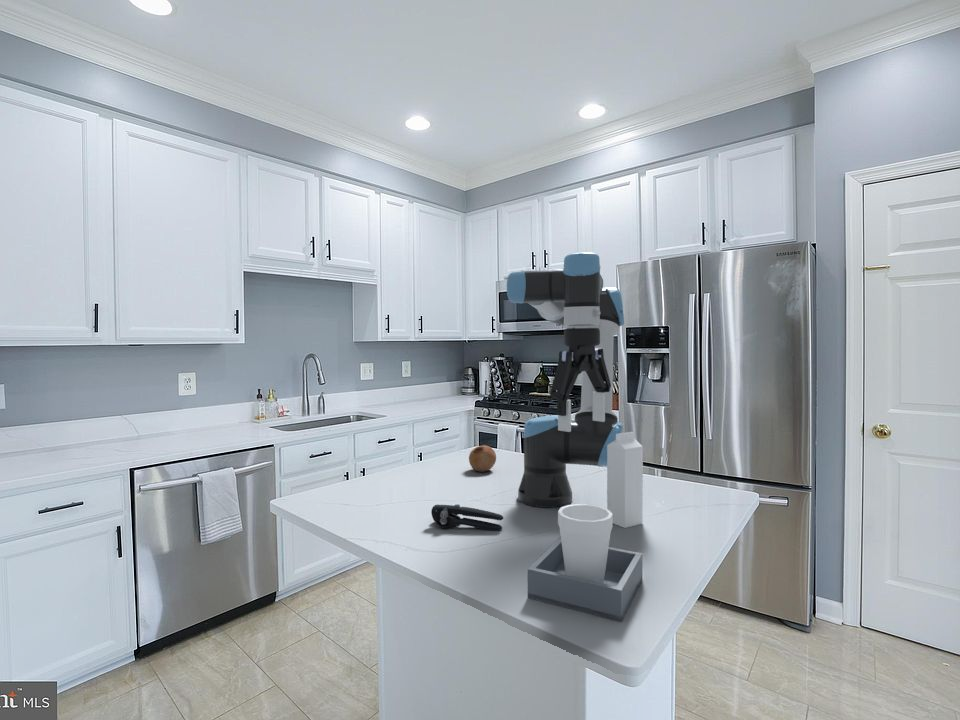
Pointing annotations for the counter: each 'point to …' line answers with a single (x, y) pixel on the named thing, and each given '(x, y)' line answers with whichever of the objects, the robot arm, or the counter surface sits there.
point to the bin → (587, 583)
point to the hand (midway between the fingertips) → (582, 425)
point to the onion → (482, 458)
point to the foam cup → (585, 540)
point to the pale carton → (625, 480)
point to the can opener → (449, 517)
